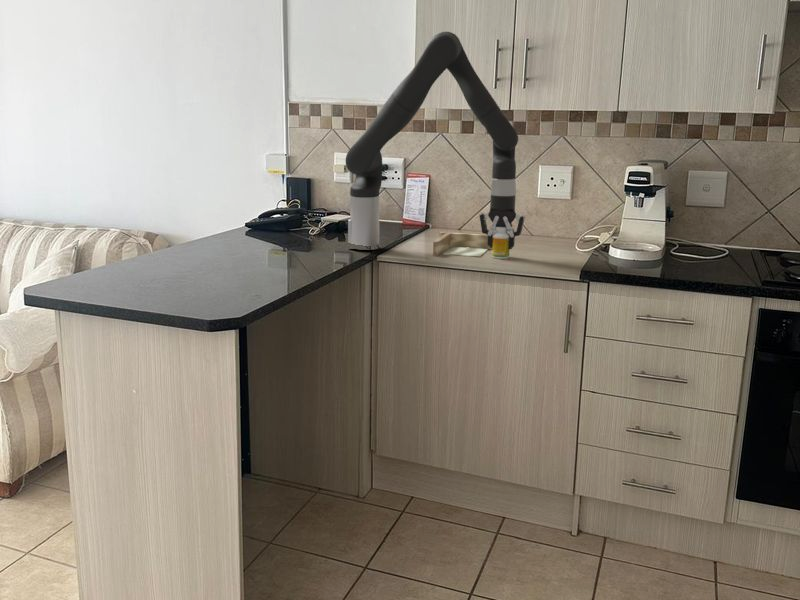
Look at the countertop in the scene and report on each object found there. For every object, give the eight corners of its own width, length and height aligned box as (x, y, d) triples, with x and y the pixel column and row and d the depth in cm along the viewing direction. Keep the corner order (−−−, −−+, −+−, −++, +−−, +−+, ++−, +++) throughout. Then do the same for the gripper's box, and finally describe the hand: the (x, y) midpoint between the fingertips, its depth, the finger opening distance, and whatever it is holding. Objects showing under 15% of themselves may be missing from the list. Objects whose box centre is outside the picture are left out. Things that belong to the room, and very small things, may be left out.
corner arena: (426, 255, 248) (426, 241, 247) (440, 245, 264) (440, 231, 263) (482, 259, 243) (483, 245, 242) (493, 248, 259) (494, 235, 257)
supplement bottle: (508, 259, 243) (509, 228, 240) (490, 258, 244) (492, 227, 241) (509, 256, 248) (511, 225, 245) (492, 255, 249) (493, 224, 246)
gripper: (477, 193, 239) (475, 248, 244) (524, 196, 235) (522, 252, 240) (482, 190, 246) (480, 244, 251) (528, 192, 242) (525, 247, 247)
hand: (500, 247), depth 245 cm, fingers closed on supplement bottle, 5 cm apart
